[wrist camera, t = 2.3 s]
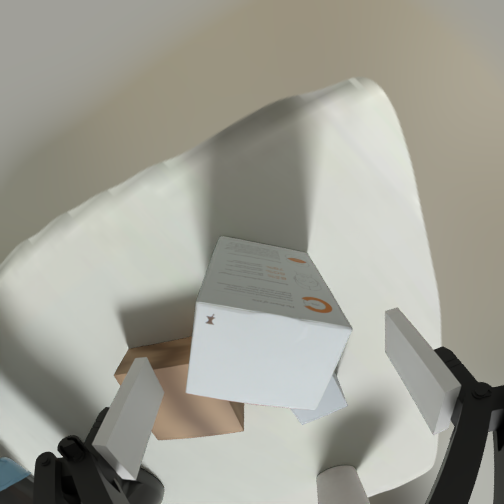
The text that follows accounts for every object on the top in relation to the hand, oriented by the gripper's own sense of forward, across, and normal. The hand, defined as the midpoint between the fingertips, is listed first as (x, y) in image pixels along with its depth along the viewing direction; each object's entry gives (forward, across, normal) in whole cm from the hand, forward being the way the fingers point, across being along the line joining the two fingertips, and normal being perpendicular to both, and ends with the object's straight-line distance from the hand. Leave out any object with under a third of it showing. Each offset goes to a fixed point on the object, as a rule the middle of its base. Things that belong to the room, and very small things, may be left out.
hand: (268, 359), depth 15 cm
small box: (+13, 0, 0) cm, 13 cm away
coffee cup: (+13, +4, -37) cm, 40 cm away
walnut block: (+13, -10, -10) cm, 19 cm away
